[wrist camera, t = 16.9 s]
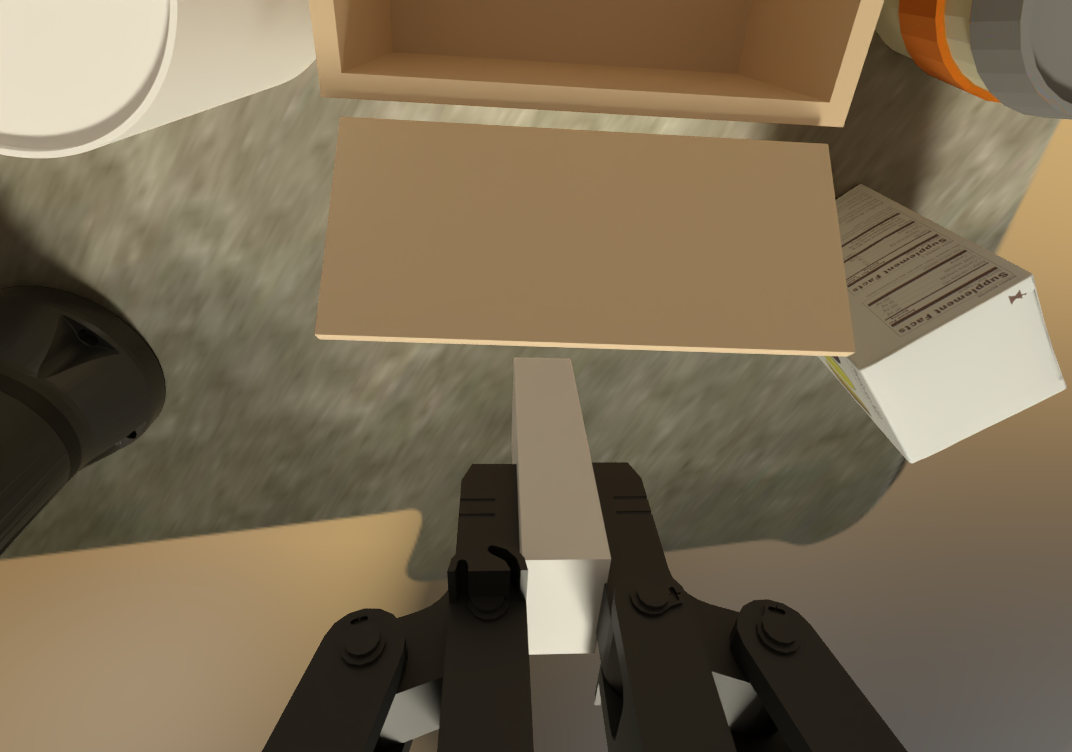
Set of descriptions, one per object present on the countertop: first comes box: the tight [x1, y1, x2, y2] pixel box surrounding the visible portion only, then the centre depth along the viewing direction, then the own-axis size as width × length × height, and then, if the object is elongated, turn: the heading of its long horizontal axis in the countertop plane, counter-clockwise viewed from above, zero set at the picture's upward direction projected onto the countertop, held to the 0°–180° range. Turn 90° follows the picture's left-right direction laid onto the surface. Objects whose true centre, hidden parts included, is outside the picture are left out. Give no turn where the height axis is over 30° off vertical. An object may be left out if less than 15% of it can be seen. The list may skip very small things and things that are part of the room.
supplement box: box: [818, 184, 1066, 463], centre depth 39 cm, size 10×9×17 cm
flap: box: [315, 117, 856, 357], centre depth 25 cm, size 22×10×1 cm
